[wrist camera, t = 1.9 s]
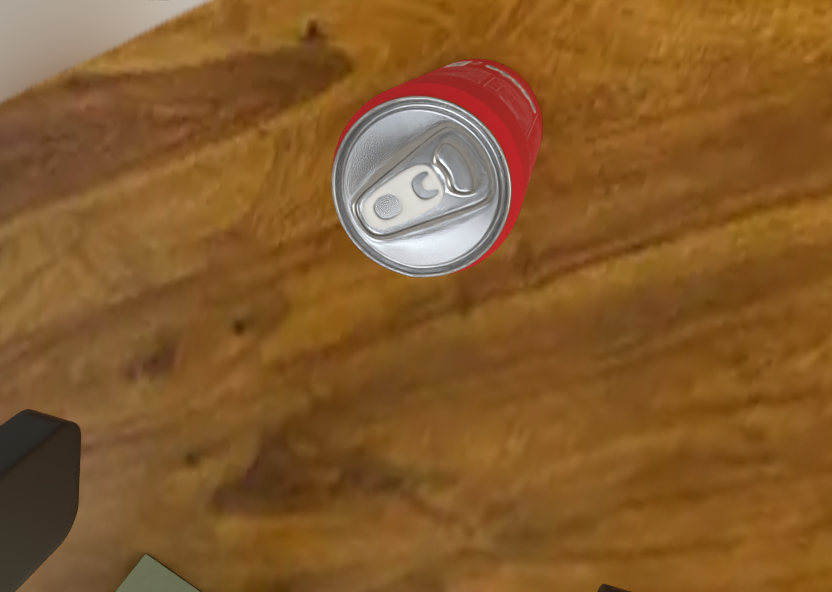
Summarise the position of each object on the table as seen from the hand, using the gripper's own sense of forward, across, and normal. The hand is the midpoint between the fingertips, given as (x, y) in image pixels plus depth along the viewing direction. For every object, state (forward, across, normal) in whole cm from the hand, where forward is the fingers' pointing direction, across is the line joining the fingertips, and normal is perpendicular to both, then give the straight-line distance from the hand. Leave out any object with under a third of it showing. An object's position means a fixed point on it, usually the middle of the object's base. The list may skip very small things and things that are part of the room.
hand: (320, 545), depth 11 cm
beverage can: (+22, +1, -3) cm, 22 cm away
